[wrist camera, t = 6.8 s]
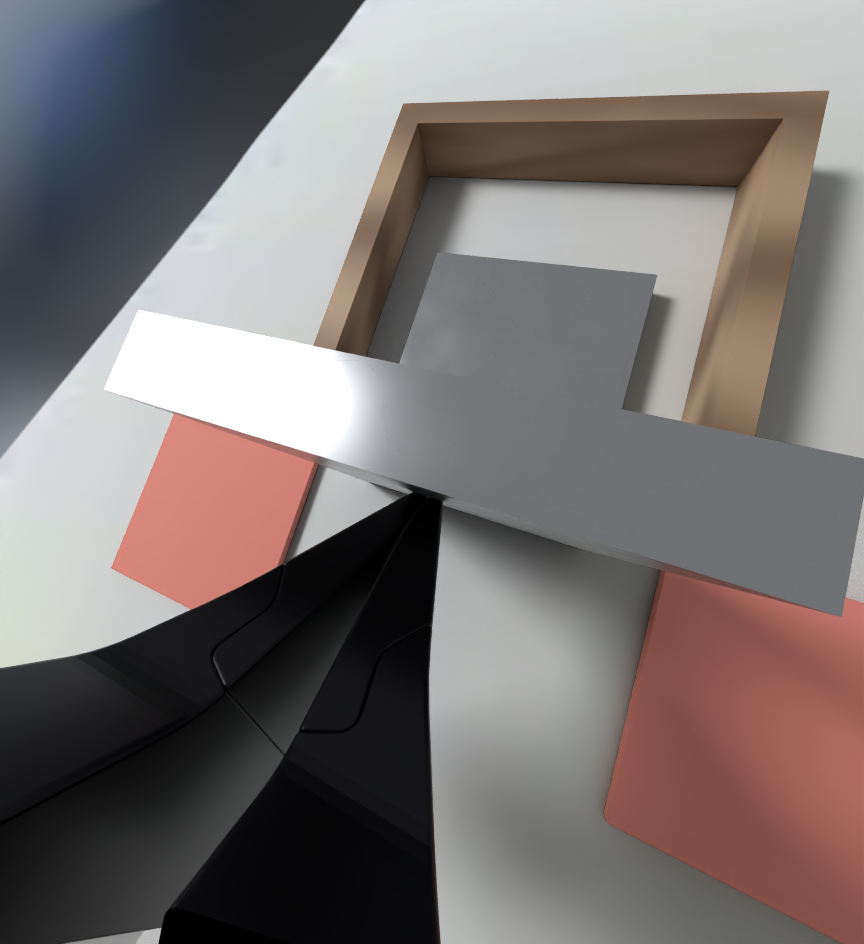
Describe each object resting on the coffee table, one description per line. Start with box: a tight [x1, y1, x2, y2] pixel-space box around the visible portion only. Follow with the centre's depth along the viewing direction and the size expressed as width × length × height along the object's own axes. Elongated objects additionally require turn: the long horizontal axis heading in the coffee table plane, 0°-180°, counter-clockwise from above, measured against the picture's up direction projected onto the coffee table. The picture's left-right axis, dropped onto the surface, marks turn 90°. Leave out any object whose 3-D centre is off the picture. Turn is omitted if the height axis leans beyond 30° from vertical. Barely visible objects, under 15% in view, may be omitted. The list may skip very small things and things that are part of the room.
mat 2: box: [604, 570, 864, 944], centre depth 11 cm, size 10×10×1 cm
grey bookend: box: [104, 252, 864, 617], centre depth 10 cm, size 12×10×11 cm
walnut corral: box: [313, 91, 829, 436], centre depth 15 cm, size 15×17×2 cm
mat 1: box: [111, 414, 318, 609], centre depth 18 cm, size 10×10×1 cm
